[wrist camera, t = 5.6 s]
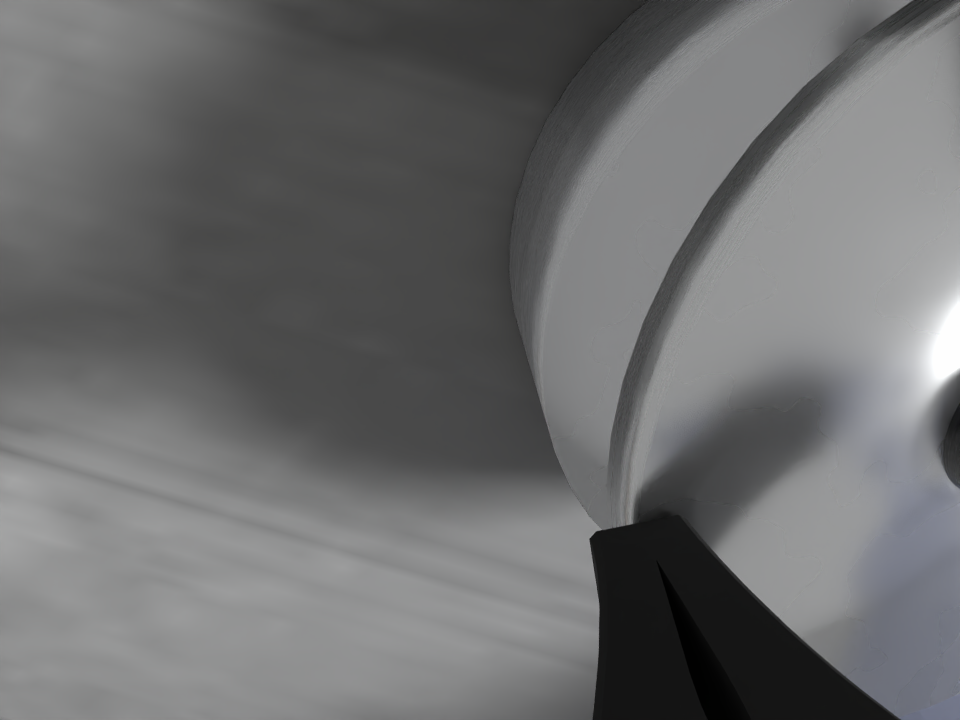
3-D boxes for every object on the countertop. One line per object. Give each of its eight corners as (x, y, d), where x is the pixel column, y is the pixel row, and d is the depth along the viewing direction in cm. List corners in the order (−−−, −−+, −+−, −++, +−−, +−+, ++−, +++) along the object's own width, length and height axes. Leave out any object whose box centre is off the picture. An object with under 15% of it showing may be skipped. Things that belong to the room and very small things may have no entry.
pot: (1029, 419, 24) (1172, 537, 19) (551, 517, 24) (587, 657, 19) (1250, -745, 13) (1702, -1078, 8) (355, -548, 13) (338, -774, 8)
